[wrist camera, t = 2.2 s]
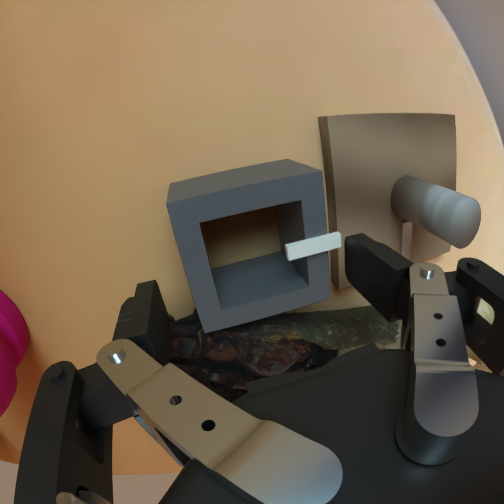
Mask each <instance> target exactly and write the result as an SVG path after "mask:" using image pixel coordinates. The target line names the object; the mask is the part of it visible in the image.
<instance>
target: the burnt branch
mask: <svg viewBox="0 0 504 504" xmlns="http://www.w3.org/2000/svg"><path fill="white" fill-rule="evenodd" d="M168 317H169V321H170V363H172V364H173V365H175V366H176V367H178V368H179V369H181V370H182V371H183V372H185V373H186V374H188V375H189V376H190V377H192V378H193V379H195V380H196V381H198V382H199V383H201V384H202V385H204V386H205V387H207V388H208V389H210V390H211V391H213V392H214V393H216V394H217V395H219V396H220V397H222V398H224V399H225V400H227V401H228V402H230V403H231V402H233V401H234V400H235V399H237V398H239V397H240V396H242V395H244V394H246V393H248V390H247V386H246V382H250V381H254V380H258V379H262V378H266V377H269V376H273V375H276V374H281V373H291V372H301V371H309V370H316V369H319V368H321V367H322V366H324V365H326V364H327V363H329V362H331V361H332V360H334V359H336V358H337V357H339V356H341V355H342V354H344V353H345V352H348V351H351V350H354V349H356V348H359V347H362V346H364V345H367V344H369V343H372V342H374V343H375V345H376V346H377V347H378V348H379V349H380V350H382V349H400V338H401V325H402V319H400V320H397V321H395V322H393V323H389V322H388V321H387V320H386V319H385V318H384V317H383V316H382V315H381V314H380V313H379V312H378V311H377V310H376V309H375V308H374V307H373V306H365V307H358V308H352V309H345V310H331V311H318V312H307V313H290V314H276V315H273V316H269V317H266V318H262V319H258V320H255V321H251V322H247V323H243V324H240V325H236V326H232V327H228V328H224V329H220V330H216V331H212V332H208V333H204V330H203V327H202V324H201V321H200V318H199V315H198V312H197V309H196V308H195V309H194V312H193V314H192V315H190V316H187V317H184V318H181V319H179V320H177V321H175V320H174V318H173V317H172V316H171V315H168Z"/></svg>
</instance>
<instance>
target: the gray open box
mask: <svg viewBox="0 0 504 504" xmlns="http://www.w3.org/2000/svg"><path fill="white" fill-rule="evenodd" d="M166 205H167V209H168V213H169V216H170V220H171V224H172V228H173V231H174V235H175V239H176V242H177V246H178V249H179V253H180V256H181V260H182V263H183V267H184V270H185V273H186V277H187V280H188V283H189V286H190V290H191V293H192V296H193V299H194V302H195V306H196V309H197V312H198V315H199V318H200V321H201V324H202V327H203V330H204V333H208V332H212V331H216V330H220V329H224V328H228V327H232V326H236V325H240V324H243V323H247V322H251V321H255V320H258V319H262V318H266V317H269V316H273V315H276V314H280V313H283V312H287V311H290V310H294V309H297V308H300V307H304V306H307V305H310V304H313V303H317V302H320V301H323V300H326V299H329V298H330V283H329V258H328V250H332V249H335V248H339V247H341V234H340V233H339V232H334V233H330V234H327V224H326V210H325V198H324V187H323V176H322V171H321V170H318V169H315V168H313V167H310V166H307V165H304V164H301V163H298V162H295V161H292V160H289V159H285V160H279V161H274V162H268V163H263V164H257V165H252V166H247V167H242V168H237V169H232V170H227V171H223V172H218V173H214V174H209V175H205V176H200V177H196V178H192V179H188V180H184V181H179V182H175V183H171V184H170V187H169V192H168V197H167V203H166ZM275 205H276V212H277V220H278V227H279V234H280V242H281V249H282V251H281V252H277V253H273V254H269V255H265V256H261V257H257V258H253V259H249V260H245V261H241V262H237V263H233V264H229V265H225V266H221V267H217V268H213V269H211V265H210V261H209V257H208V253H207V249H206V245H205V241H204V237H203V233H202V229H201V225H200V223H201V222H205V221H209V220H213V219H218V218H222V217H226V216H230V215H235V214H239V213H243V212H248V211H252V210H257V209H261V208H266V207H270V206H275Z"/></svg>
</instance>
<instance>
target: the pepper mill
mask: <svg viewBox="0 0 504 504" xmlns="http://www.w3.org/2000/svg"><path fill="white" fill-rule="evenodd" d="M28 342H29V337H28V331H27V327H26V324H25V322H24V319H23V317H22V315H21V314H20V312H19V310H18V309H17V307H16V306H15V305H14V303H13V302H12V301H11V300H10V299H9V298H8V297H7V296H6V295H5V294H4V293H2V292H1V291H0V417H1V415H2V414H3V413H4V412H5V411H6V409H7V408H8V406H9V405H10V403H11V401H12V399H13V397H14V394H15V392H16V388H17V377H16V371H15V368H16V367H17V366H18V365H19V364H20V362H21V360H22V358H23V356H24V353H25V351H26V349H27V347H28Z"/></svg>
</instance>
